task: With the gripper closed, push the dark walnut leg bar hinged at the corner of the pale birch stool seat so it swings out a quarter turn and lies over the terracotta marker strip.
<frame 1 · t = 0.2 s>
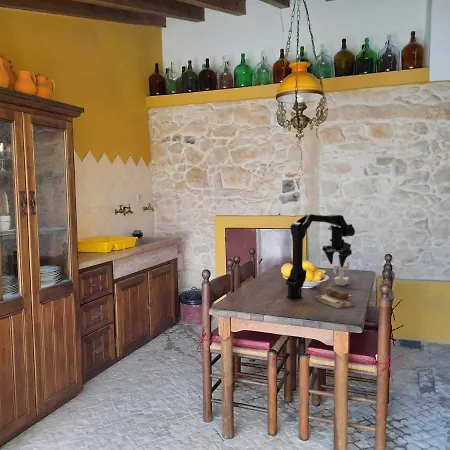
hand: (336, 265, 241), 14 cm above the table, tool pointing down, fingers open, 9 cm apart
walnut leg: (336, 293, 223), point 4 cm above the table, hinge at 0.0°
marker strip: (342, 296, 231), on the table
figurine: (341, 284, 257), on the table
birch seat: (334, 302, 221), on the table
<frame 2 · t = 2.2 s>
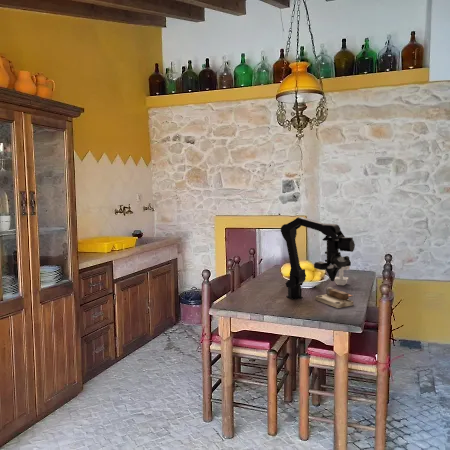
hand: (332, 281, 216), 12 cm above the table, tool pointing down, fingers closed
nothing on the table moved.
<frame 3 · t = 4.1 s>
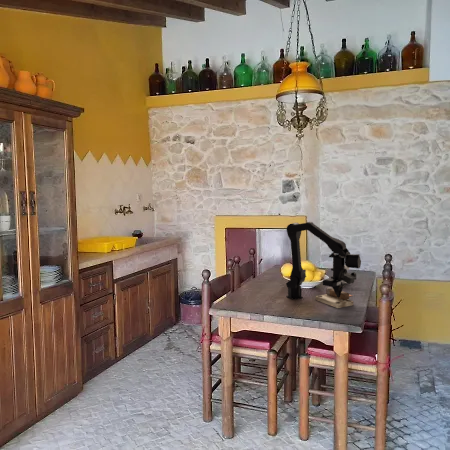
hand: (338, 297, 218), 3 cm above the table, tool pointing down, fingers closed
walnut leg: (337, 293, 223), point 4 cm above the table, hinge at 2.3°, touching gripper
everything else where it was.
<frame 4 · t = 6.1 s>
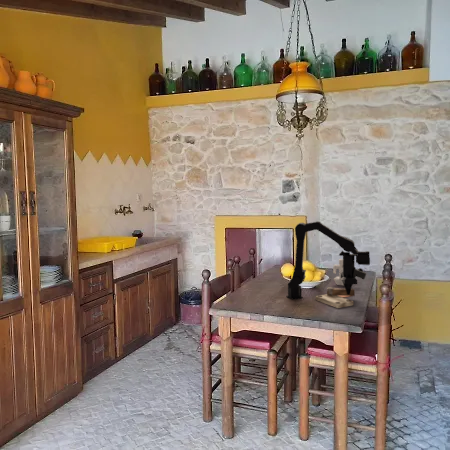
hand: (348, 294, 223), 3 cm above the table, tool pointing down, fingers closed
walnut leg: (340, 291, 226), point 4 cm above the table, hinge at 50.0°, touching gripper
everything else where it was.
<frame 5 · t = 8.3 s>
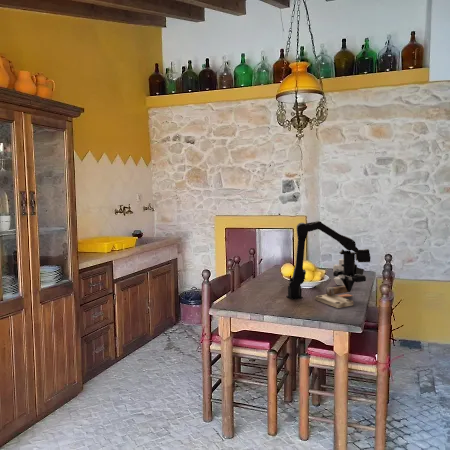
hand: (349, 291, 228), 3 cm above the table, tool pointing down, fingers closed
walnut leg: (338, 289, 230), point 4 cm above the table, hinge at 90.5°
everything else where it was.
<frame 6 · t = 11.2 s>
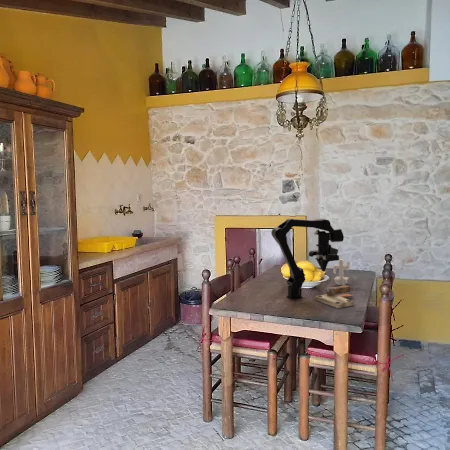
hand: (323, 271, 233), 13 cm above the table, tool pointing down, fingers closed
nothing on the table moved.
at the end: walnut leg at +90° (first picture: +0°) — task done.
